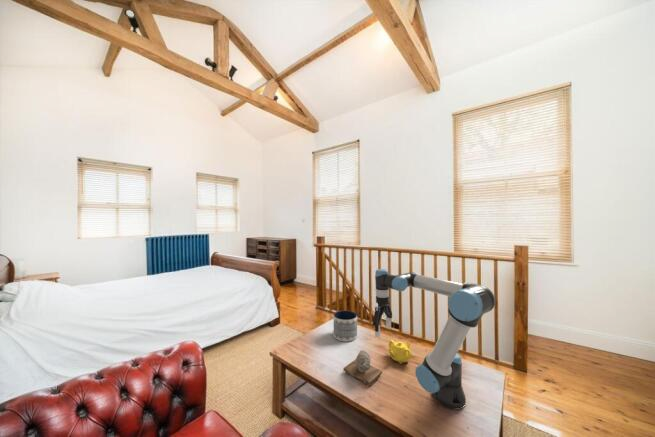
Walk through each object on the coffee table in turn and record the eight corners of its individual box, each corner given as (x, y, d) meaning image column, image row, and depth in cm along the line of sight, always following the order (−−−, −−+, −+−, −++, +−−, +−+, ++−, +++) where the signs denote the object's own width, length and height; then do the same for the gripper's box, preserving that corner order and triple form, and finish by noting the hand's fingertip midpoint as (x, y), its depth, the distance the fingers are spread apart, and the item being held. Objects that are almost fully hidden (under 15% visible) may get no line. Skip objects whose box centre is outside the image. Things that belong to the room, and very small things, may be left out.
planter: (350, 344, 171) (350, 321, 171) (329, 337, 181) (329, 316, 181) (361, 334, 186) (361, 313, 186) (340, 328, 196) (340, 308, 196)
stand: (382, 376, 137) (382, 371, 137) (369, 388, 127) (369, 382, 127) (356, 363, 149) (356, 358, 149) (343, 373, 139) (343, 368, 139)
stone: (352, 376, 132) (352, 358, 132) (357, 361, 146) (357, 345, 146) (368, 379, 129) (368, 361, 129) (372, 364, 143) (372, 347, 143)
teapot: (399, 348, 166) (399, 332, 166) (421, 361, 151) (421, 343, 151) (378, 357, 155) (378, 340, 155) (400, 372, 140) (400, 353, 140)
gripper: (386, 290, 152) (386, 324, 151) (365, 300, 133) (366, 338, 132) (397, 292, 147) (398, 327, 146) (377, 302, 128) (378, 342, 127)
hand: (383, 332), depth 139 cm, fingers open, 13 cm apart
